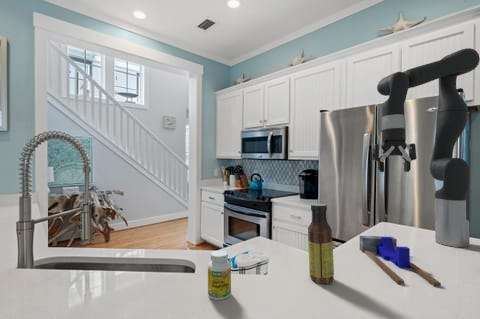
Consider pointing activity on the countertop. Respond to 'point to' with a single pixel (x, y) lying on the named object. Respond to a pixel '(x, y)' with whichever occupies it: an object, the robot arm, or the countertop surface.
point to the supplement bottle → (219, 276)
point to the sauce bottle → (320, 246)
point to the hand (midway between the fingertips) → (394, 172)
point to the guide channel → (369, 248)
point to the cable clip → (393, 253)
